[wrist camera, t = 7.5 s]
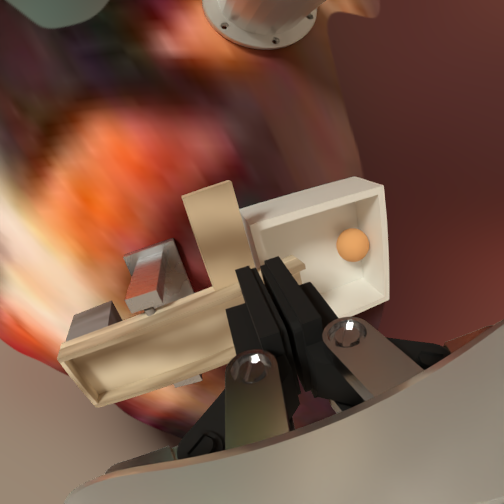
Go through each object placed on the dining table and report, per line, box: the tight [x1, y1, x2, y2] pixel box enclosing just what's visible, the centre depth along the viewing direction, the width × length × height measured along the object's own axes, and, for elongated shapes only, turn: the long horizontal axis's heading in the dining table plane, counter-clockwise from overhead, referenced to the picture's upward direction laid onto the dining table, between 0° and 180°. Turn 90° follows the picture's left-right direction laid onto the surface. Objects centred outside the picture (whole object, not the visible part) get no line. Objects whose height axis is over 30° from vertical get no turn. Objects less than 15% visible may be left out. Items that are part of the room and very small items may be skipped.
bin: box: [239, 177, 389, 318], centre depth 33 cm, size 15×15×6 cm
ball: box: [336, 228, 369, 262], centre depth 34 cm, size 4×4×4 cm
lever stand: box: [123, 238, 202, 387], centre depth 30 cm, size 13×6×10 cm, turn 15°
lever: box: [57, 180, 306, 408], centre depth 27 cm, size 16×24×8 cm, turn 105°
